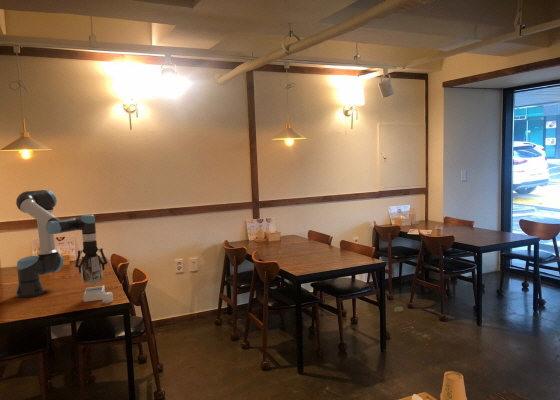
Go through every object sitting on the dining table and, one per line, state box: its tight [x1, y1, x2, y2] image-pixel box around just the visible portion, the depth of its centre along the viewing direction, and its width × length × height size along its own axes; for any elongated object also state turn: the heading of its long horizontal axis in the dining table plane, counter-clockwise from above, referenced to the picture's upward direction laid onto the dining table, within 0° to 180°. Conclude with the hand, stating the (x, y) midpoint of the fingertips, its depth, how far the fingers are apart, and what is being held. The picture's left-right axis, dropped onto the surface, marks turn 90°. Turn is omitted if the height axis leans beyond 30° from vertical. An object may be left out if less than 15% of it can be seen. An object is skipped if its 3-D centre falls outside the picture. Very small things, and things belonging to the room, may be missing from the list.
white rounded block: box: [101, 291, 114, 304], centre depth 251 cm, size 6×6×5 cm
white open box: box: [82, 284, 106, 303], centre depth 260 cm, size 11×14×5 cm
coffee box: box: [81, 254, 103, 285], centre depth 259 cm, size 9×6×16 cm
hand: (92, 277), depth 259 cm, fingers closed on coffee box, 10 cm apart
